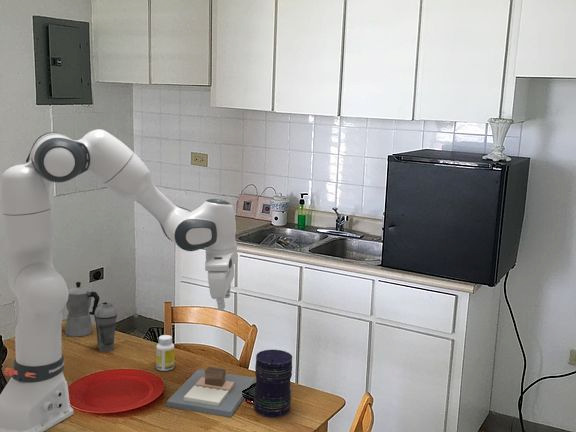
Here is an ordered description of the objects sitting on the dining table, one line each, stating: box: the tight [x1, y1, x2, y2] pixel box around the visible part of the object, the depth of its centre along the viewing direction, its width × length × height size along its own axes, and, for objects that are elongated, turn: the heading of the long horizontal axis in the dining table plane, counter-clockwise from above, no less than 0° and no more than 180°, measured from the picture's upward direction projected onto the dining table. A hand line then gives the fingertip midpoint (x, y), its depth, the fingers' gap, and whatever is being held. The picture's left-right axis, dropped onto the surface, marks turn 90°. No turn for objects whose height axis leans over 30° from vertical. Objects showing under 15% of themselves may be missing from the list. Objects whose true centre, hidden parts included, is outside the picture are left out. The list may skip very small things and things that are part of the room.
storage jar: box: [253, 349, 293, 419], centre depth 172 cm, size 10×10×15 cm
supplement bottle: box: [155, 334, 175, 372], centre depth 195 cm, size 5×5×10 cm
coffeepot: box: [64, 281, 100, 338], centre depth 220 cm, size 15×9×18 cm, turn 66°
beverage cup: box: [93, 288, 118, 353], centre depth 207 cm, size 7×7×20 cm
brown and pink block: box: [195, 366, 235, 393], centre depth 181 cm, size 5×10×5 cm, turn 76°
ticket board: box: [166, 368, 256, 418], centre depth 180 cm, size 22×18×3 cm
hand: (224, 303), depth 183 cm, fingers open, 8 cm apart
